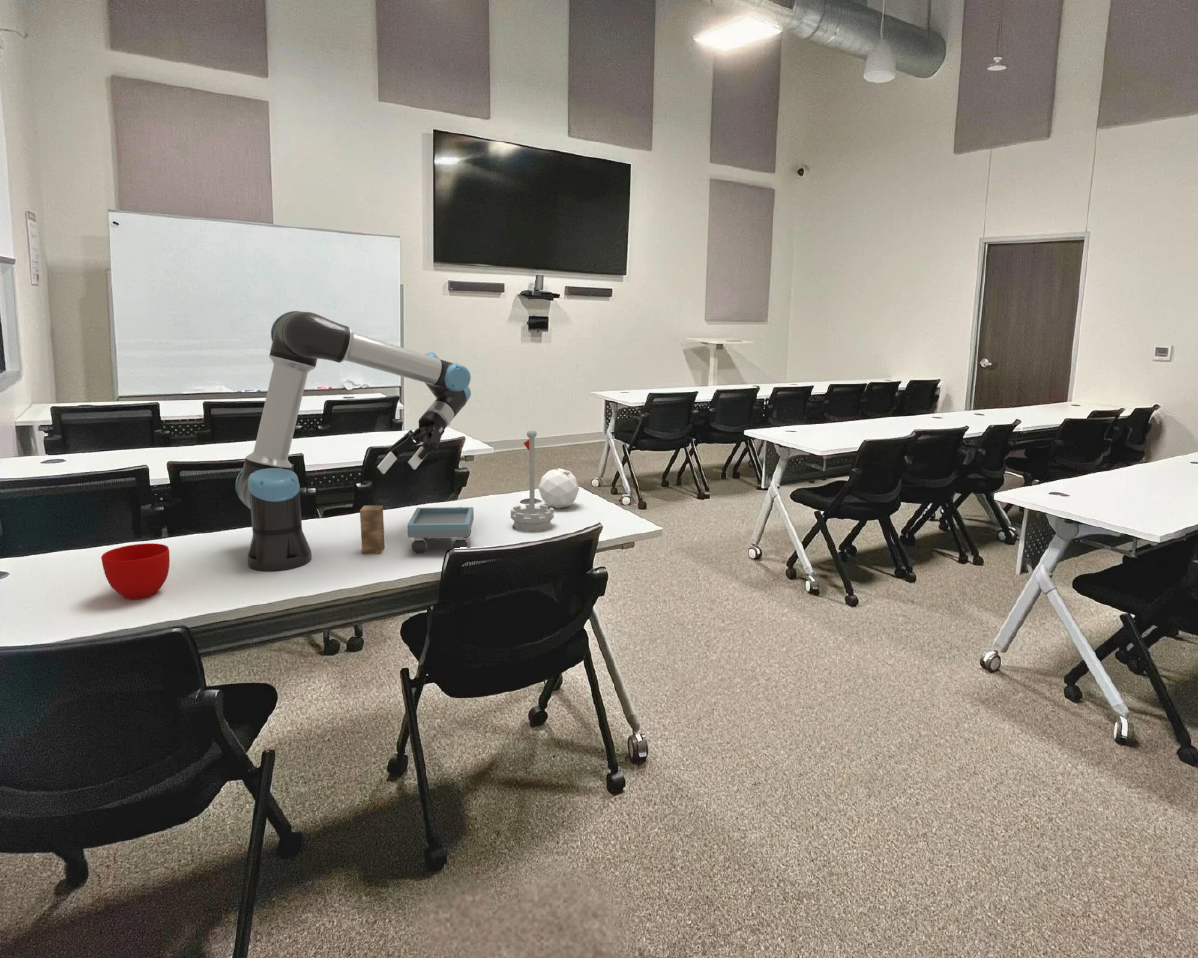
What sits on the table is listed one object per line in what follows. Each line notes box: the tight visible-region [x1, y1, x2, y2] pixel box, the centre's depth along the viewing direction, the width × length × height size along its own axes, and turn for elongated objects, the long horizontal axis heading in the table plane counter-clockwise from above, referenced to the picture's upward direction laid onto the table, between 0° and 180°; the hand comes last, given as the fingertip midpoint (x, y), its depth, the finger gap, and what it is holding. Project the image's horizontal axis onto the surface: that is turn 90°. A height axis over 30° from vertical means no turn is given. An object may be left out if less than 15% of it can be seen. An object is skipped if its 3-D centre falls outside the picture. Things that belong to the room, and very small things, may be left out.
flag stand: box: [510, 428, 555, 532], centre depth 224 cm, size 13×13×30 cm
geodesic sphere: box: [537, 467, 580, 509], centre depth 249 cm, size 14×14×14 cm
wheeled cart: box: [406, 506, 475, 554], centre depth 207 cm, size 16×18×8 cm
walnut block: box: [359, 504, 386, 555], centre depth 201 cm, size 5×5×12 cm
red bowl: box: [100, 543, 171, 600], centre depth 169 cm, size 13×17×10 cm
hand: (395, 468), depth 207 cm, fingers open, 13 cm apart
